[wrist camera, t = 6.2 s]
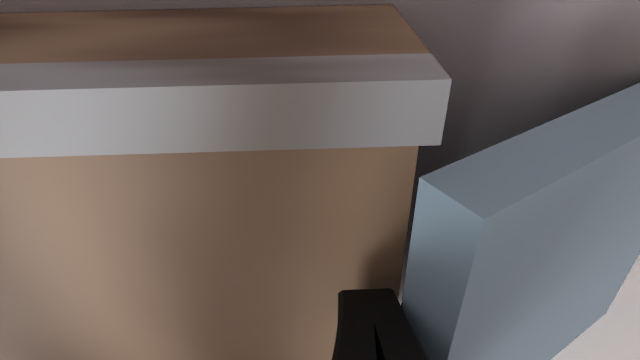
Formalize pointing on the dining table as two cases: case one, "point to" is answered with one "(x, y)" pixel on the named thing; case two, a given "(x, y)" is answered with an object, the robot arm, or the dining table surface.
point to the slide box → (204, 176)
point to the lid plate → (527, 237)
